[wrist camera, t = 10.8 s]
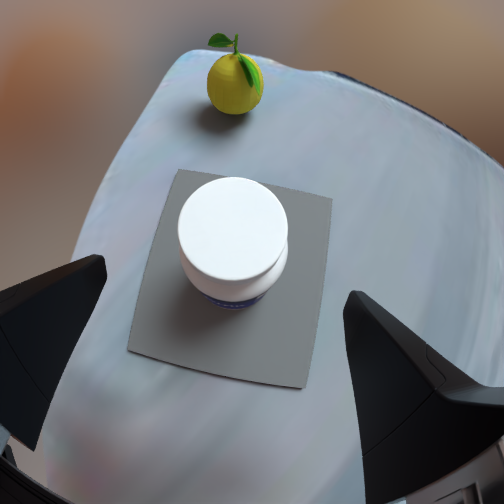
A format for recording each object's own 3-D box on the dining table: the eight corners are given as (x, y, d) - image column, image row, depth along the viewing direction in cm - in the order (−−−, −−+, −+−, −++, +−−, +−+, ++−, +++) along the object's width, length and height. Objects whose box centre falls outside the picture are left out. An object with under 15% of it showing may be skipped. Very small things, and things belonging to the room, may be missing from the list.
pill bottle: (182, 284, 20) (138, 244, 11) (222, 224, 22) (214, 147, 12) (246, 325, 20) (256, 320, 10) (284, 261, 21) (322, 205, 12)
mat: (303, 386, 19) (305, 388, 18) (130, 348, 19) (127, 349, 18) (330, 201, 24) (332, 198, 23) (179, 172, 24) (178, 168, 23)
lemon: (211, 91, 27) (206, 19, 17) (261, 93, 27) (270, 21, 18) (201, 131, 25) (190, 51, 16) (259, 134, 25) (268, 53, 16)
